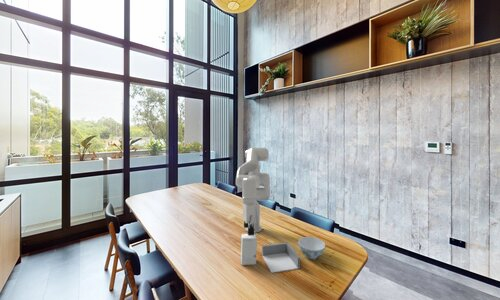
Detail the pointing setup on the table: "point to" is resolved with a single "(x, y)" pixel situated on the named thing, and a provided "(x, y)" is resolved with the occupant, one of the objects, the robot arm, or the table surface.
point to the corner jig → (280, 257)
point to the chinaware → (311, 247)
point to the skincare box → (248, 249)
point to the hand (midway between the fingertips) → (248, 231)
